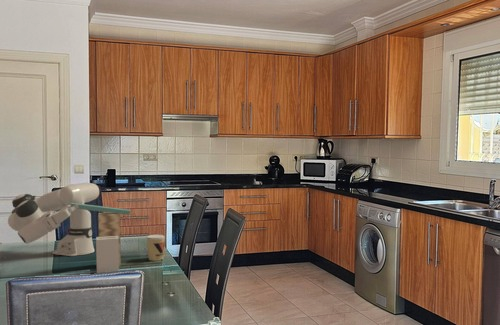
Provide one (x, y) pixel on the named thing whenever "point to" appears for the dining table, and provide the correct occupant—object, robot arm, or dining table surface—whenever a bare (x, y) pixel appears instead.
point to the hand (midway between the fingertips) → (78, 204)
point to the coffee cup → (155, 247)
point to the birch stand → (110, 226)
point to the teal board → (102, 209)
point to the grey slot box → (107, 253)
